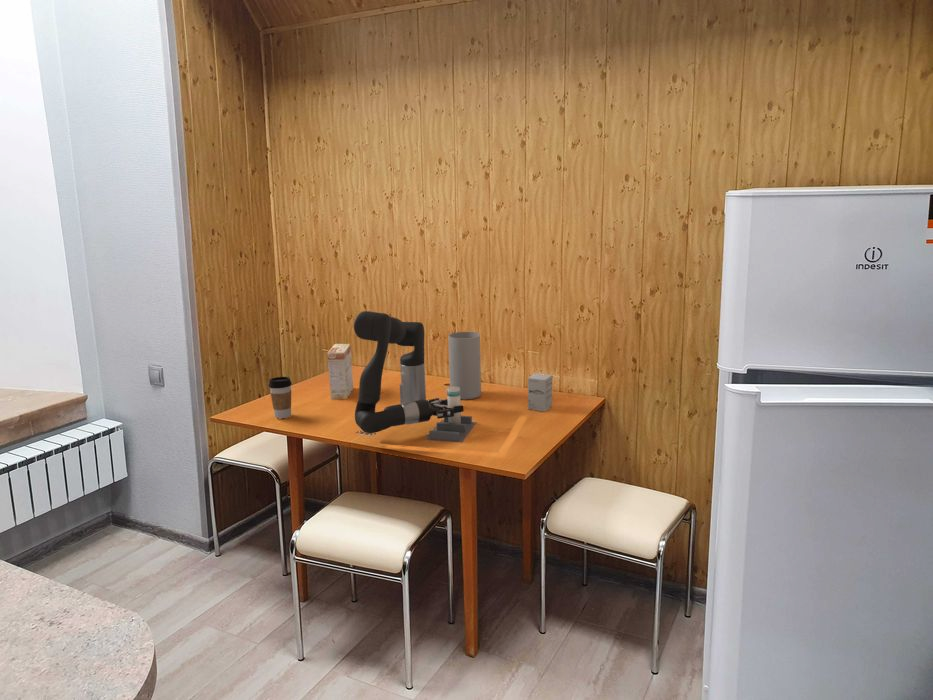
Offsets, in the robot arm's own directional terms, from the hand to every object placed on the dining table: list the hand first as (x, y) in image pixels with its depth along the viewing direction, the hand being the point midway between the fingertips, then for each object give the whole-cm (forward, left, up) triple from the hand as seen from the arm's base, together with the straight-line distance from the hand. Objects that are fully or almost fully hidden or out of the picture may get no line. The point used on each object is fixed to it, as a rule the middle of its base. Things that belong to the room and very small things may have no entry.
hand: (458, 404), depth 252 cm
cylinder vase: (-8, +39, -9) cm, 41 cm away
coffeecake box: (-59, +32, -10) cm, 68 cm away
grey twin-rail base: (-1, -5, -9) cm, 11 cm away
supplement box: (+24, +29, -9) cm, 39 cm away
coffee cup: (-69, +1, -9) cm, 70 cm away
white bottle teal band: (-1, -1, -8) cm, 8 cm away
